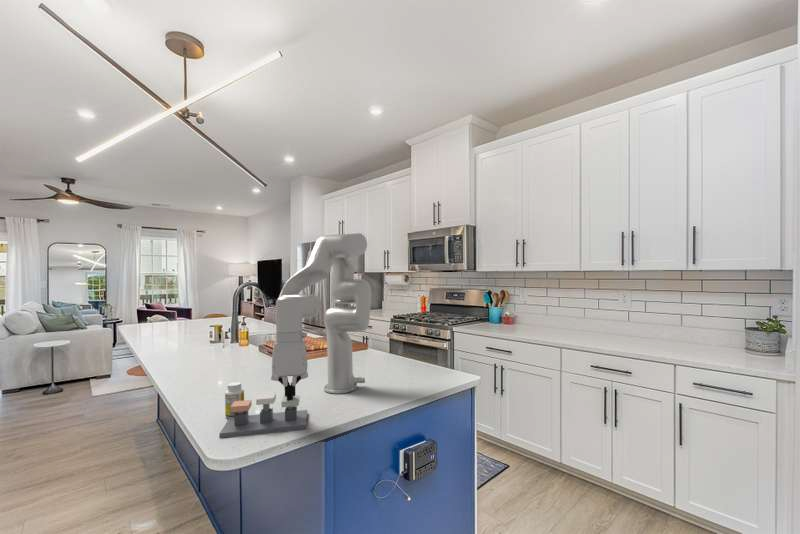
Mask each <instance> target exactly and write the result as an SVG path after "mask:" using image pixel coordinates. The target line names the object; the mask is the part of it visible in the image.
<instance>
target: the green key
mask: <svg viewBox="0 0 800 534" xmlns="http://www.w3.org/2000/svg"><path fill="white" fill-rule="evenodd" d="M300 400H301V399H300V394H299V395H296V394H295V396H293V400H287V397H285V396H283V397H282V399H281V408H286V407H288V410H294V406H297V407H298V406H300Z"/></svg>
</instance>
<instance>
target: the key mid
mask: <svg viewBox="0 0 800 534" xmlns="http://www.w3.org/2000/svg"><path fill="white" fill-rule="evenodd" d="M276 395H277V393H276V392H271V393H259V394H258V395H257V397H256V399H255V402H256V403H255V404H256V406H262V409H263V412H269V411H270V407H271V406H270V405H271V404H272V405H273V404H275V401H276V399H277V397H276Z"/></svg>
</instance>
